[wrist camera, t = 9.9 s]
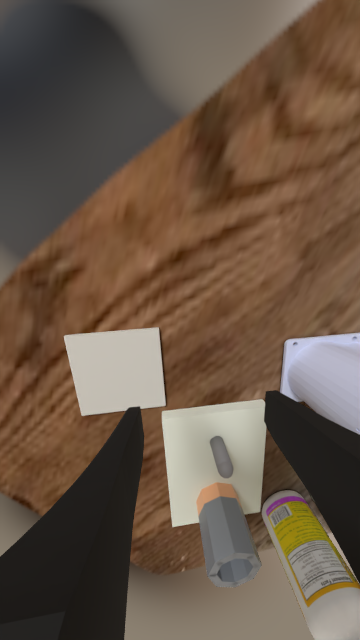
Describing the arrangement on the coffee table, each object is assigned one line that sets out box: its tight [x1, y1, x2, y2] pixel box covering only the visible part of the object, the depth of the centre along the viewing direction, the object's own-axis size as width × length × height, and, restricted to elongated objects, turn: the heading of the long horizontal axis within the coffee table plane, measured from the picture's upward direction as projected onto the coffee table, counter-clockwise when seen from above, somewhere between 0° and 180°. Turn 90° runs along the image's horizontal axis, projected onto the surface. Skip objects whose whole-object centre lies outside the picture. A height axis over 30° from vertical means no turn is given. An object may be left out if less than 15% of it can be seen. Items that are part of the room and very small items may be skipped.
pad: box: [64, 327, 166, 416], centre depth 19 cm, size 9×9×1 cm
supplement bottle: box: [262, 490, 360, 640], centre depth 21 cm, size 7×7×13 cm
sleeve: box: [196, 482, 262, 587], centre depth 21 cm, size 5×5×6 cm
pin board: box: [162, 399, 266, 527], centre depth 21 cm, size 12×17×5 cm
